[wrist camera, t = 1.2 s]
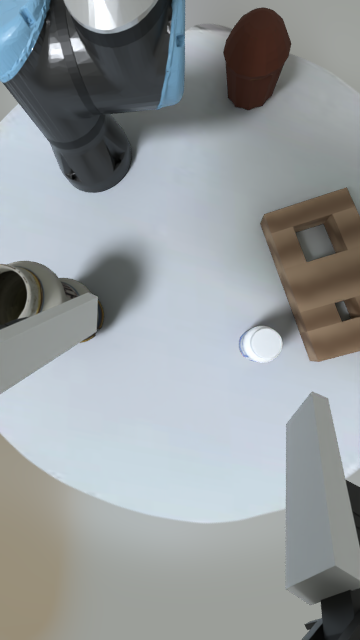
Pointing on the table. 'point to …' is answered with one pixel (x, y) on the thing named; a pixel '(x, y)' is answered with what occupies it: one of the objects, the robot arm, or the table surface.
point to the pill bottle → (260, 344)
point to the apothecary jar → (36, 291)
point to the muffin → (255, 57)
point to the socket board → (320, 272)
